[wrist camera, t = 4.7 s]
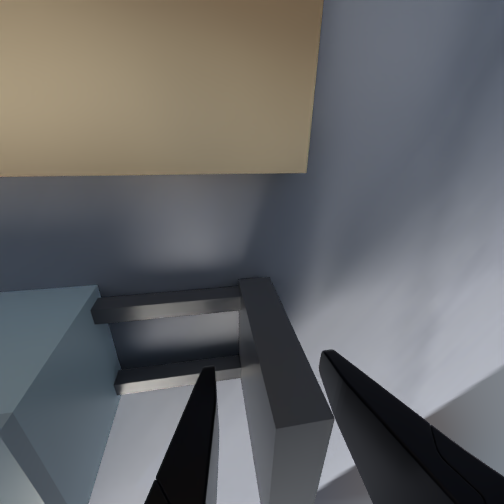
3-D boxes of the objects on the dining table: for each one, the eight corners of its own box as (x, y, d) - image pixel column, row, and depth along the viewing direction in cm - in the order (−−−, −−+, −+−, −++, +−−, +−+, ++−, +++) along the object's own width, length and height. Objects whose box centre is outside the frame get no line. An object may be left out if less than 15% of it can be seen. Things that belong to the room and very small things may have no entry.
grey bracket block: (267, 271, 10) (335, 414, 5) (263, 362, 12) (307, 528, 7) (-186, 305, 8) (-919, 637, 3) (-95, 410, 10) (-410, 709, 5)
